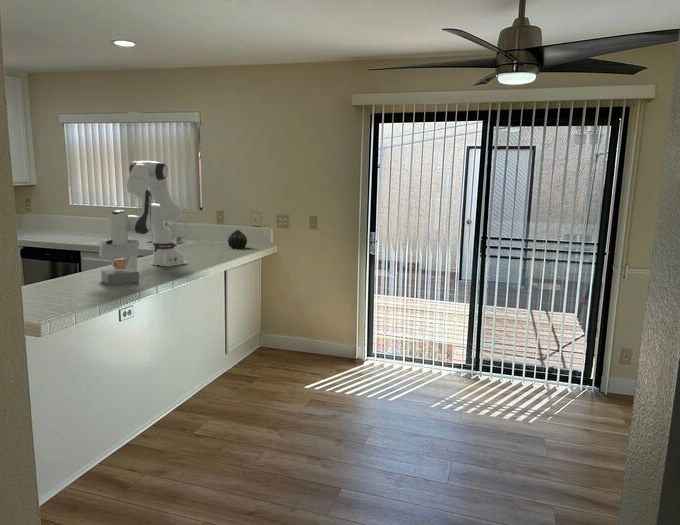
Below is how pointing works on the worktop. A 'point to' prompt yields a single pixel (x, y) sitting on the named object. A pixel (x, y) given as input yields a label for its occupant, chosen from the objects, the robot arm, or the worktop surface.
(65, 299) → the worktop surface
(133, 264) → the mug
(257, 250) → the worktop surface
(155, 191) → the robot arm
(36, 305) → the worktop surface
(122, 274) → the stand
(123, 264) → the cube
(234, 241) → the squash
